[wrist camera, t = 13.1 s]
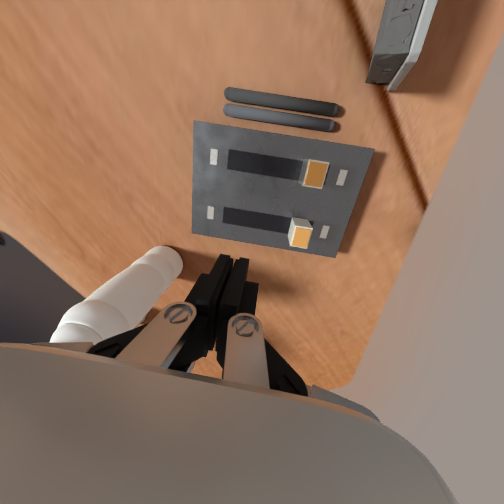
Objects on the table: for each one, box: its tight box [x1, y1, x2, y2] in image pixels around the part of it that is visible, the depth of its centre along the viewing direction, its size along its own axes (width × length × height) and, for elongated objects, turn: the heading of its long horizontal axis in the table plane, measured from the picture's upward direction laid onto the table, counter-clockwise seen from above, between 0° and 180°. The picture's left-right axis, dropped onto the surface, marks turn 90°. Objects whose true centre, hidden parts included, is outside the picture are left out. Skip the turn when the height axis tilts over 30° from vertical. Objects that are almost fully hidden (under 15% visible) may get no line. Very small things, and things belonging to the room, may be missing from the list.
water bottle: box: [50, 246, 183, 345], centre depth 28 cm, size 7×7×25 cm
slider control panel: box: [192, 120, 375, 258], centre depth 29 cm, size 16×24×8 cm, turn 82°
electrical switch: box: [365, 0, 439, 91], centre depth 20 cm, size 9×5×9 cm, turn 176°
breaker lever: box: [288, 217, 313, 249], centre depth 29 cm, size 3×2×5 cm
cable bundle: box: [223, 87, 339, 132], centre depth 27 cm, size 3×15×1 cm, turn 82°
